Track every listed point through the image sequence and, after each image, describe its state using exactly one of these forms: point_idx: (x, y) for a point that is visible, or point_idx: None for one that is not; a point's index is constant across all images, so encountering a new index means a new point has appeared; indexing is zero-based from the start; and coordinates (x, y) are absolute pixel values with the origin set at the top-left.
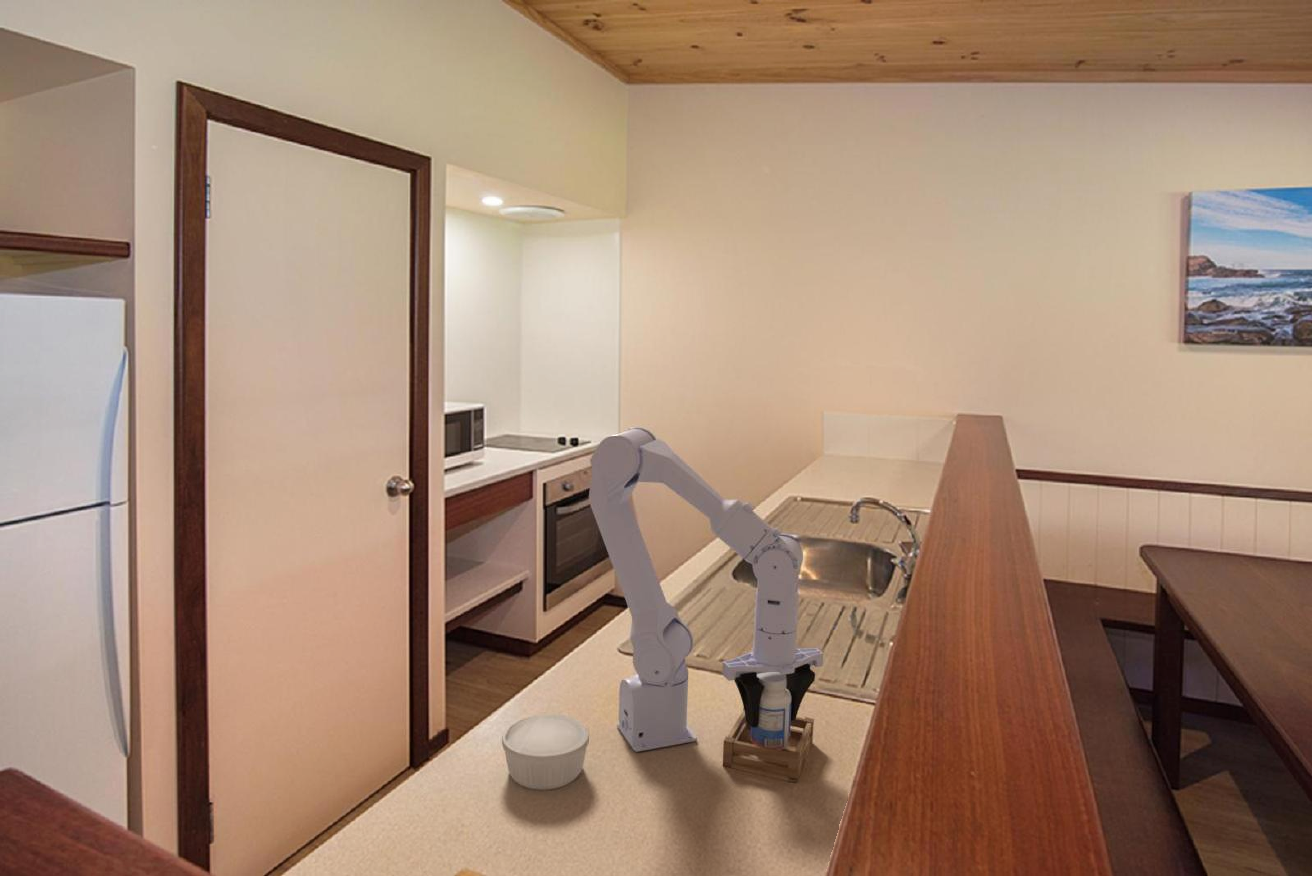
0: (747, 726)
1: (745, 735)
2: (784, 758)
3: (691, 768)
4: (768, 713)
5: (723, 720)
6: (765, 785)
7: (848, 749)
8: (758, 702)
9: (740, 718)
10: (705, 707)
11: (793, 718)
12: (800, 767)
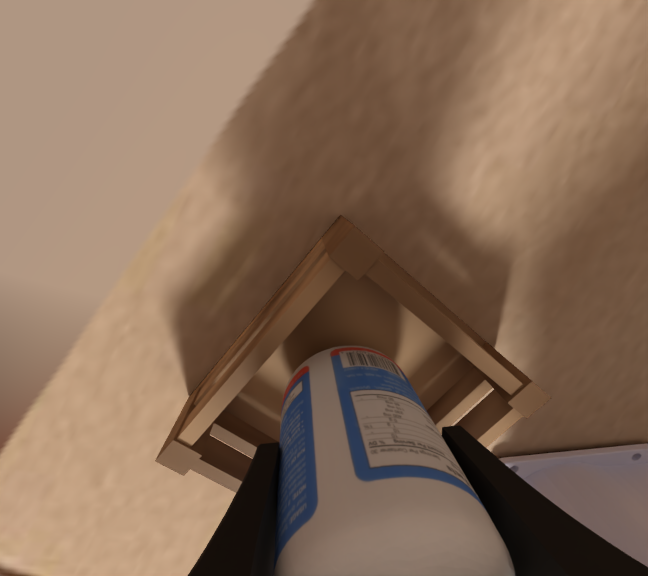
0: None
1: None
2: (385, 265)
3: (573, 357)
4: (448, 464)
5: None
6: (437, 231)
7: (84, 344)
8: (552, 541)
9: None
10: None
11: (269, 449)
12: (299, 272)
